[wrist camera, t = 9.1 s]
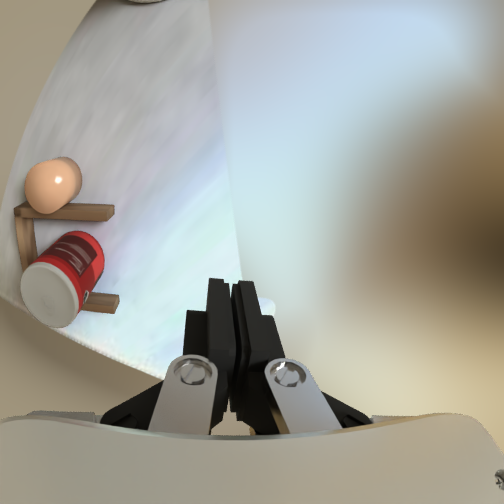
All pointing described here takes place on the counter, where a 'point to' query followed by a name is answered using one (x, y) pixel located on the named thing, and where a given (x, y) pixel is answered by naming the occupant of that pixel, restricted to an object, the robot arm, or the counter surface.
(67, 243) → the canned food
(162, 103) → the counter surface
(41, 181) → the peach egg shape
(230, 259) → the counter surface
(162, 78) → the counter surface
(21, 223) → the wooden u-shaped frame
